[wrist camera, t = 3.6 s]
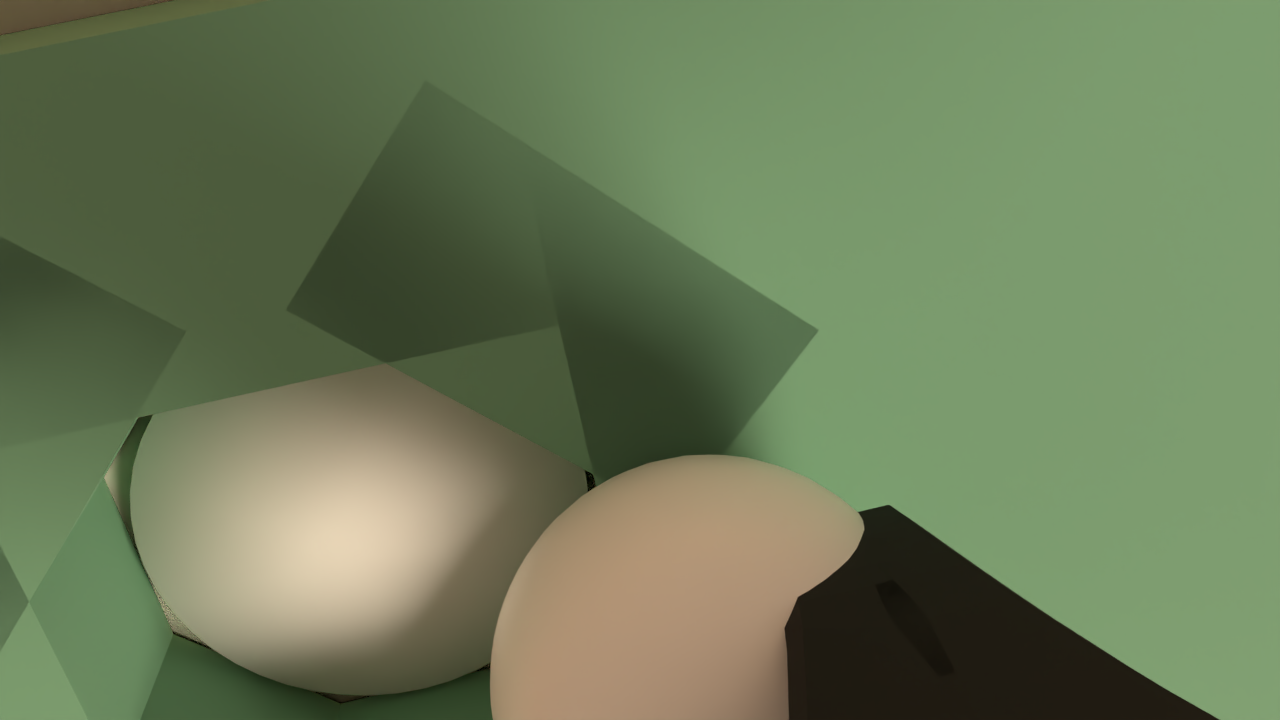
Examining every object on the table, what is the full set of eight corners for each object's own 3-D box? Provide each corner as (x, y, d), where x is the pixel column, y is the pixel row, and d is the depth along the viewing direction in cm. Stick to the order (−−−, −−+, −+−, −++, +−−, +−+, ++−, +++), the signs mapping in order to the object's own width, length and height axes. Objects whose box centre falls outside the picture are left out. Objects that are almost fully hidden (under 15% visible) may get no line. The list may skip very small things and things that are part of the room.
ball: (777, 742, 6) (336, 590, 7) (846, 1110, 7) (463, 909, 9) (988, 408, 8) (610, 352, 10) (1006, 739, 9) (676, 639, 11)
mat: (1627, -294, 10) (1888, -327, 8) (1472, 619, 14) (1621, 731, 12) (-363, 109, 9) (-575, 172, 7) (107, 949, 13) (48, 1122, 11)
